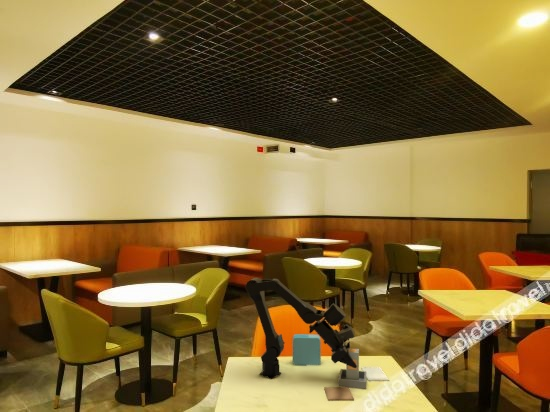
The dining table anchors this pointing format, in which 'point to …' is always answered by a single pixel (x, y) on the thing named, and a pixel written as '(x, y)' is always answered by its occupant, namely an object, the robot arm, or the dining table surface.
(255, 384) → the dining table surface
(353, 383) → the parts bin
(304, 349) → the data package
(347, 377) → the labelled box
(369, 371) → the hard drive
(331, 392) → the walnut pad
